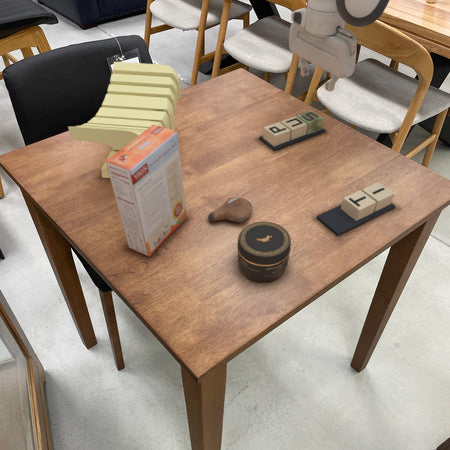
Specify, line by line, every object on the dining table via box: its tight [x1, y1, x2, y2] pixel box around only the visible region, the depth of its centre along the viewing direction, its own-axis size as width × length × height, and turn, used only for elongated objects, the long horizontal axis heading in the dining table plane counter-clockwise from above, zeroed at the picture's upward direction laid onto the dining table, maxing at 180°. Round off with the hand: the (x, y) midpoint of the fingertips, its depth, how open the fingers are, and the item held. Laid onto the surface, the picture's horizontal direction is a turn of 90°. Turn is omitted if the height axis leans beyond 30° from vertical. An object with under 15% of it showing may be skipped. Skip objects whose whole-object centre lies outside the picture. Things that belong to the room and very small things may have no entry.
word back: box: [258, 115, 326, 152], centre depth 116 cm, size 17×7×4 cm, turn 123°
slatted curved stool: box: [67, 61, 182, 179], centre depth 102 cm, size 30×16×18 cm, turn 172°
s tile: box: [296, 110, 324, 134], centre depth 117 cm, size 5×5×3 cm
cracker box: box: [105, 124, 188, 257], centre depth 85 cm, size 14×6×21 cm, turn 149°
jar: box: [236, 221, 292, 283], centre depth 84 cm, size 10×10×8 cm
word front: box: [315, 181, 396, 237], centre depth 95 cm, size 17×7×4 cm, turn 123°
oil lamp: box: [207, 196, 253, 223], centre depth 95 cm, size 9×4×8 cm
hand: (316, 82), depth 109 cm, fingers open, 8 cm apart
